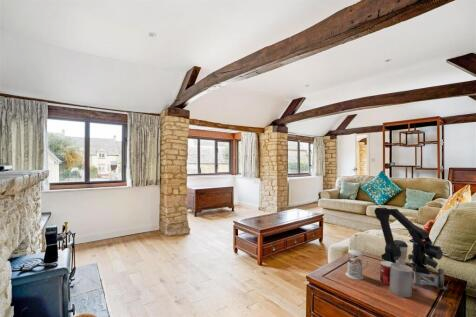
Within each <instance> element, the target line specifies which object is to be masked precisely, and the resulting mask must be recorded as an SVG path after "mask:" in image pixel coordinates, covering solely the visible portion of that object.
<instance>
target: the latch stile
mask: <svg viewBox="0 0 476 317" xmlns="http://www.w3.org/2000/svg"><path fill="white" fill-rule="evenodd" d="M420 280H421V276H420V273H418V272H416V271H415V280H414V279H413V282H412V286H413V287H415V288H423V285H422V284H421V283H420Z"/></svg>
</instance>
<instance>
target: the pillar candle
mask: <svg viewBox="0 0 476 317" xmlns="http://www.w3.org/2000/svg"><path fill="white" fill-rule="evenodd" d="M413 272H414V271H413V268H412V266H411V267H410V266H409V265H406V264H405V265H404V264H401V263H391V265H390V286H389V291H390V292H391V293H392V294H393V295H395V296H398V297H400V298H411V297H412V295H413Z"/></svg>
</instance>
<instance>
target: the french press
mask: <svg viewBox="0 0 476 317" xmlns="http://www.w3.org/2000/svg"><path fill="white" fill-rule="evenodd" d="M353 237H355V240H354V241H355V242H354V244H355V246H354V247H355V248H354V249H349V250H348V251H347V253H348V254H349V255H351V256H349V257H348V259H347V271H346V272H345V275H346V276H347V277H348V278H350V279H353V280H364V277H365V276H363V270H365V269H366V268H368V265H369V264H368V262H369V261H368V259H367V258H366V257H365V256H364V255H363V253H362V252H361V251H360V250H358V249H357V248H356V244H357V243H356V242H357V240H356V238H357V237H358V234H357V233H355V234H353ZM359 257H361V259H360V258H359ZM363 259H365V260H366V264H365V266H364V267H363V263H362V261H363Z"/></svg>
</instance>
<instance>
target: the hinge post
mask: <svg viewBox="0 0 476 317" xmlns="http://www.w3.org/2000/svg"><path fill="white" fill-rule="evenodd" d="M437 273H438V274H437V275H438V286H435V287H436V288H437V290H438V289H439V290H442V291H443V290H444V291H448V288H447V287H445V283H444V282H445V270H444V269H443V268H438V269H437Z"/></svg>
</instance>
